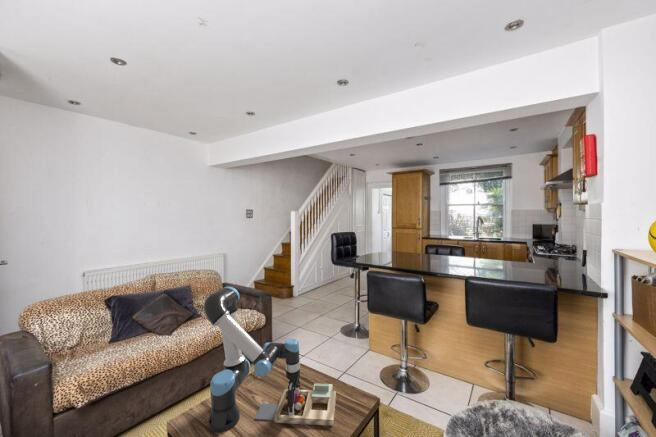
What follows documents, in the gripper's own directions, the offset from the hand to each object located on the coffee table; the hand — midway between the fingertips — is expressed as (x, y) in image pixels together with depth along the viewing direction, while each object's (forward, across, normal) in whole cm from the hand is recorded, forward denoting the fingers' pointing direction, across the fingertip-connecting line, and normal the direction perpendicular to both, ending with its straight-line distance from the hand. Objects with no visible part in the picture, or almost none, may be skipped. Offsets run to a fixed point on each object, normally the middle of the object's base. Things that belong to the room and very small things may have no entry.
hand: (294, 407), depth 149 cm
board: (0, +3, -7) cm, 8 cm away
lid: (-3, +10, -14) cm, 17 cm away
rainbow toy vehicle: (+1, +2, -1) cm, 2 cm away
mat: (0, -4, +13) cm, 14 cm away
